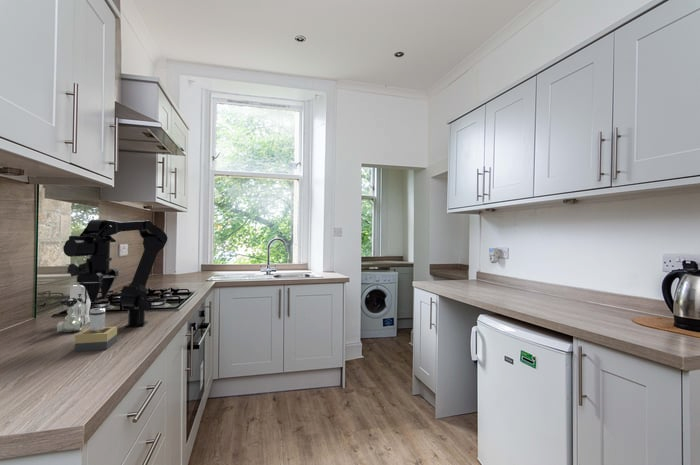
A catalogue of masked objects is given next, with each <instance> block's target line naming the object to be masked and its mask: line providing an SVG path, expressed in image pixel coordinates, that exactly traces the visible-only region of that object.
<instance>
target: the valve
mask: <svg viewBox="0 0 700 465" xmlns="http://www.w3.org/2000/svg"><path fill="white" fill-rule="evenodd" d="M58 301H59V304H60V305H61V304H63V305H64V306H66V307H67V308H68V309H66V313H67V314H66V316H65V317H64V320H65V321H59V322H58V323H57V325H56V332H57V333H72V332H74V331H75V332H82V330H83V325H84V324H83V322H82V321H81V320H80V321H74V319H75V317H76V316H74V315H73V314H72V313H74V309H72V307H73V306H74V305H75V304H76V303H77V301H79V302H82V299H81V298H77V299H75V298H72V299H70V298H68V297H67V298H64V299H59V300H58Z"/></svg>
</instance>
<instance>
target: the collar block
mask: <svg viewBox="0 0 700 465" xmlns="http://www.w3.org/2000/svg"><path fill="white" fill-rule="evenodd" d="M89 332H90V327H87V328H86V329H84V330H81V331H79V333H77V334H75V336H74V339H75V340H74V352H75V353H76V352H89V351H91V352H92V351H106V350H108V349H109V348H111V347H112V346H113V345H114V344H115V343H116V342H118V326H105V333H91V334H89Z"/></svg>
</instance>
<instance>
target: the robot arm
mask: <svg viewBox="0 0 700 465" xmlns="http://www.w3.org/2000/svg"><path fill="white" fill-rule="evenodd" d="M129 231H131V232H132V231H138V232H139V233H138V234H139V236H140V237H141V238H142V246H143V249H144V250H143V252H142V256H141V258H140V260H139V262H138V265H137V268H136V271H135V273H134V274H133V277H132V281H131V282H130V283H129V284H128V285H124V286H123V287H122V290H121V292H120V294H119V302H120V305H121V307H122V310H125V311H126V310H127V314H128V315H127V323H126V324H125V325H124V328H130V327H131V328H132V327H133V328H134V327H144V326H145V325H146V324H147V323H148V320H146V311H148V310H150V309H151V307H152V303H151V302H150V300H149V299H148V298H147V294H148V291H147V287H146V284H147V282H148V280H149V277H150V274H151V272H152V268H153V267H154V263H155V260H156V258H157V255H158V253H159V252H161V251H162V250H163V249H164V248H165V246H166V244H167V242H168V235H167V234H166V232H164V230H162V228H160V227H158V226H157V225H155V224H154V223H153V222H152V221H151V220H148V219H139V220H125V221H118V220H111V219H91V220H89V222H88V223H87V225H86V227H85V228H84V230H82V232H81V233H80V235H69V236H68V240H66V241H65V243H64V244H63V246H62V250H63V253H64V254H65V256H67V257H72V258H73V257H88V256H89V258H86V259H85V263H81V264H78V263H76V262H75V263H70V264H68V267H67V271H66V272H67V273H68V274H69V275H70V277H71V278H73V277H76V283H78V285H82V286H84V287H85V288H86V290H87V293H88V296H89V299H90V301H91V303H95V302H96V300H97V298H98V295H99V293H101V297H102V298H106V297H107V296H108V294H109V292H110V291H111V288H112V286H113V285H114V284H115V281H116V280H117V277H119V274H120V273H119V269H117V268H110V261H112V260H113V257H111V256H110V255H111V252H110V251H111V243H116V242H117V240H116V239H115V238H113V237H112V236H114V235H116V234H118V233H121V232H129Z"/></svg>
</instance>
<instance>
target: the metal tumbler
mask: <svg viewBox="0 0 700 465" xmlns="http://www.w3.org/2000/svg"><path fill="white" fill-rule="evenodd" d="M106 310H107V309H106V307H95V308H93V307H92V308H90V310H89V318H90V322H89V328H90V332H89V334H91V333H105V327H106Z"/></svg>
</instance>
